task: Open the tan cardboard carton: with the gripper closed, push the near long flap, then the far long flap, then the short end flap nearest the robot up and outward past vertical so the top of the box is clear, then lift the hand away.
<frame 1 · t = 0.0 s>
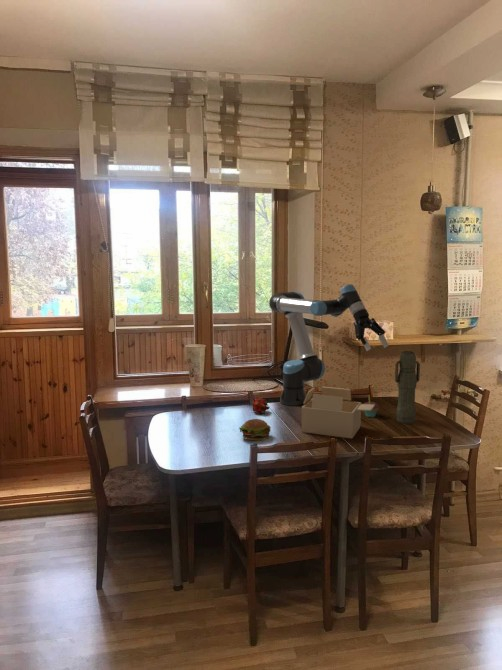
hand: (377, 348, 257), 36 cm above the table, tool tilted 35°, fingers open, 13 cm apart
thermos: (405, 421, 257), on the table
flap arm end: (309, 395, 248), point 15 cm above the table, hinge at -22.0°
flap far end: (365, 407, 238), point 13 cm above the table, hinge at 85.0°
flap far: (336, 393, 251), point 15 cm above the table, hinge at -22.0°
cupcake: (370, 416, 266), on the table
food: (254, 437, 237), on the table
dragon fruit: (260, 412, 274), on the table
flap near: (327, 402, 236), point 15 cm above the table, hinge at -22.0°
carton: (331, 429, 246), on the table
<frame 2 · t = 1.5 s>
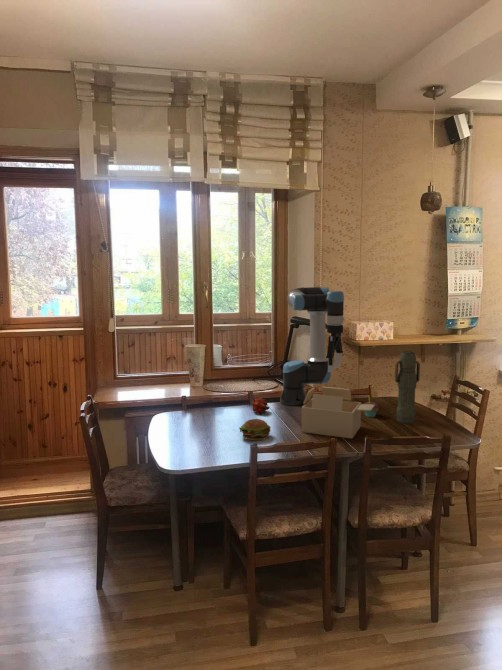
hand: (334, 369, 242), 29 cm above the table, tool pointing down, fingers open, 13 cm apart
nothing on the table moved.
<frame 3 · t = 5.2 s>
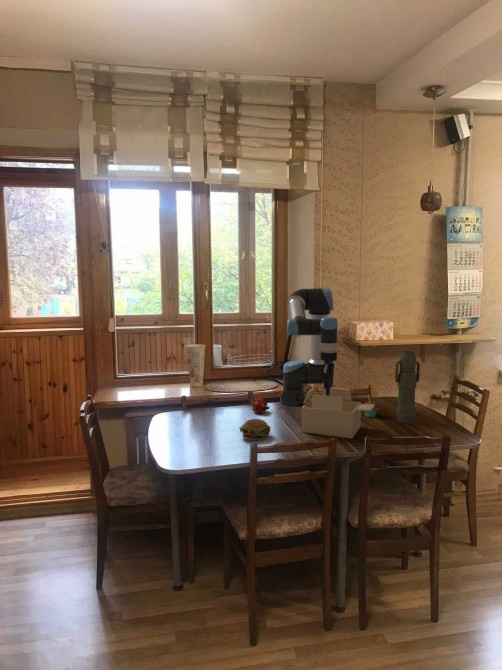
hand: (328, 401, 238), 15 cm above the table, tool pointing down, fingers closed
flap near: (327, 402, 236), point 16 cm above the table, hinge at -17.7°, touching gripper
everything else where it was.
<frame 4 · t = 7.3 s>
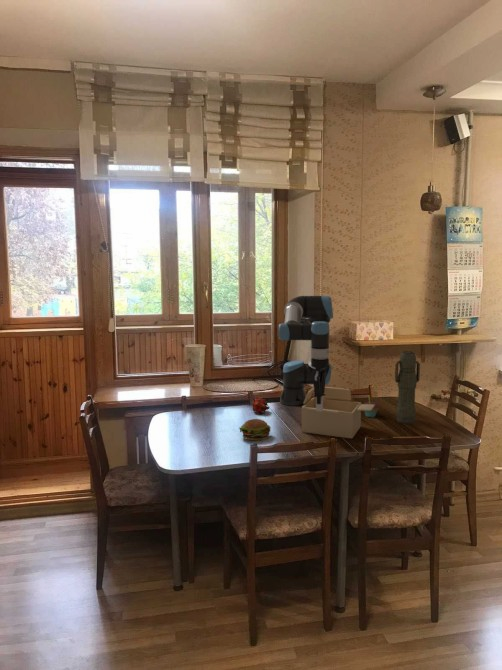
hand: (319, 410, 225), 15 cm above the table, tool pointing down, fingers closed
flap near: (324, 410, 232), point 13 cm above the table, hinge at 75.9°
everything else where it was.
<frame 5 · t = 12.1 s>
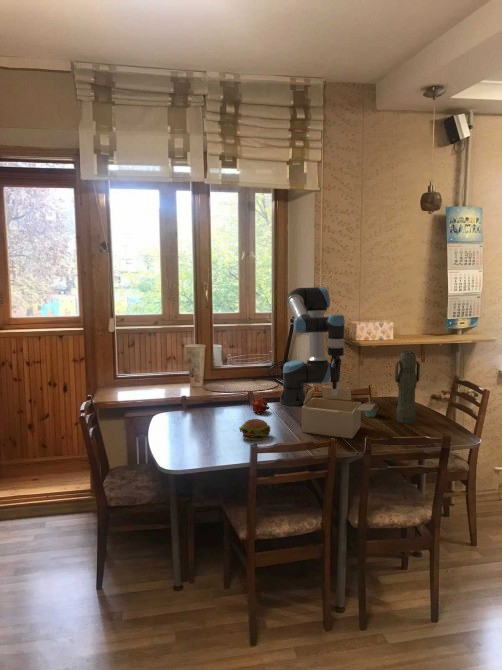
hand: (334, 395, 249), 15 cm above the table, tool pointing down, fingers closed
flap far: (336, 393, 252), point 16 cm above the table, hinge at -17.4°, touching gripper
everything else where it was.
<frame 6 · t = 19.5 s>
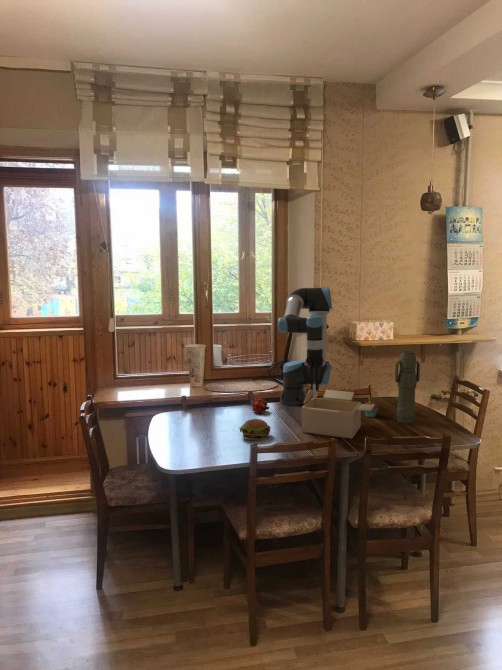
hand: (314, 396, 247), 15 cm above the table, tool pointing down, fingers closed
flap arm end: (308, 395, 248), point 15 cm above the table, hinge at -21.1°, touching gripper
flap far: (338, 395, 256), point 13 cm above the table, hinge at 69.0°
everything else where it was.
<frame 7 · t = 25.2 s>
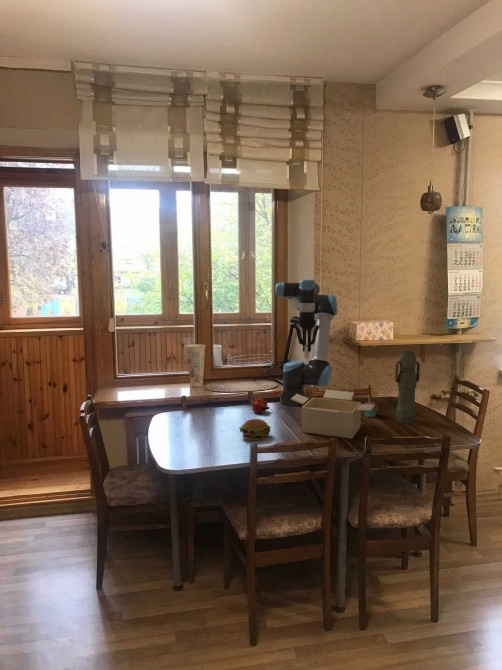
hand: (306, 358, 258), 31 cm above the table, tool pointing down, fingers closed
flap arm end: (299, 398, 251), point 13 cm above the table, hinge at 73.3°
everything else where it was.
at the end: flap near at +76° (first picture: -22°); flap far at +69° (first picture: -22°); flap arm end at +73° (first picture: -22°) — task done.
